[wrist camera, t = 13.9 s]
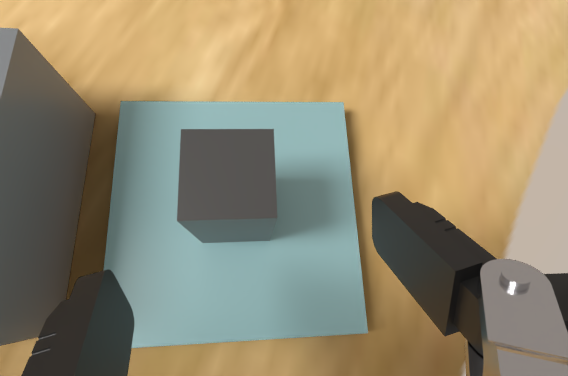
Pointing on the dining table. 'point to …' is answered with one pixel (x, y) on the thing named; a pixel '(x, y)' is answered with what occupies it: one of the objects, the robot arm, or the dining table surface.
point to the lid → (235, 222)
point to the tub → (37, 185)
